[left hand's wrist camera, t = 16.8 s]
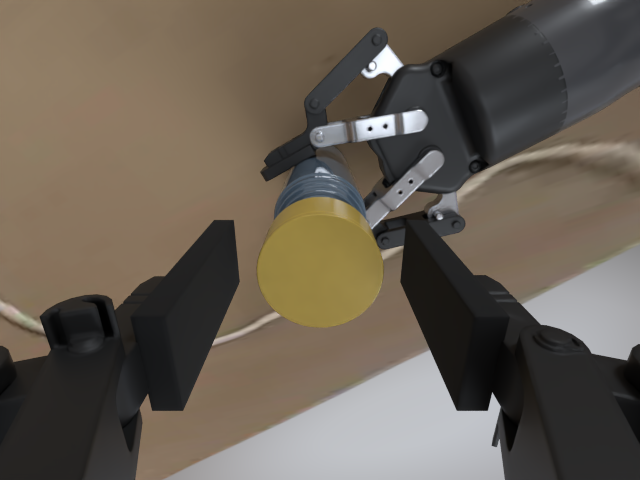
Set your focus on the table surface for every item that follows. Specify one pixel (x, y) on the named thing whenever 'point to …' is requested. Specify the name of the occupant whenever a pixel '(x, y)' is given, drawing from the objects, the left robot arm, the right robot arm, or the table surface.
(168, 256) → the table surface
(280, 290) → the cap
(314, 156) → the bottle
